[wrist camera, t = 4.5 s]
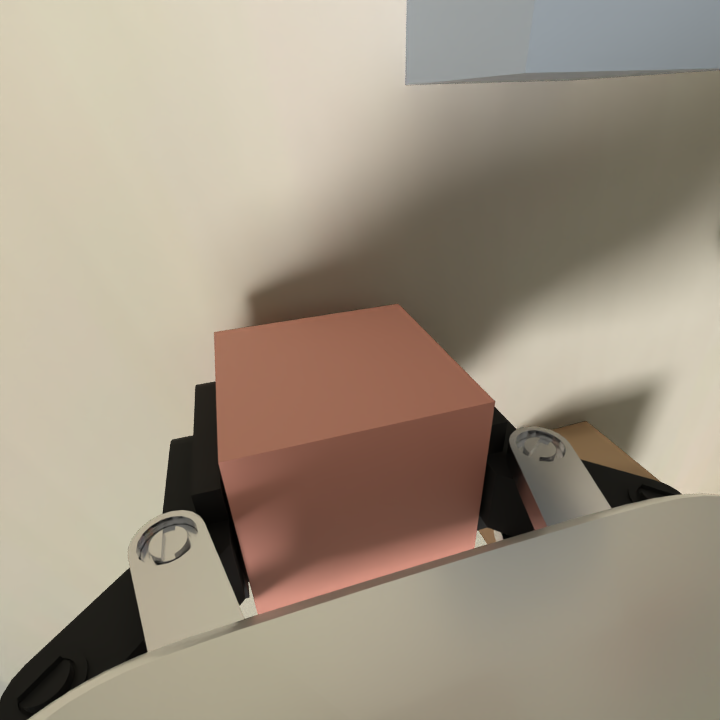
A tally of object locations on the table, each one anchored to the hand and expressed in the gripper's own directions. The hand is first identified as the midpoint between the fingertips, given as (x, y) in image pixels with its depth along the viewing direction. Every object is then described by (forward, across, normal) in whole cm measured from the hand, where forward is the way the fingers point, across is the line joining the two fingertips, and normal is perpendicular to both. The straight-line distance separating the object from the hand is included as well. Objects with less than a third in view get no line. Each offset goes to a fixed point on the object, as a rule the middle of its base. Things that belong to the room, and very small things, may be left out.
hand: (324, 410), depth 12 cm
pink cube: (+1, 0, 0) cm, 1 cm away
